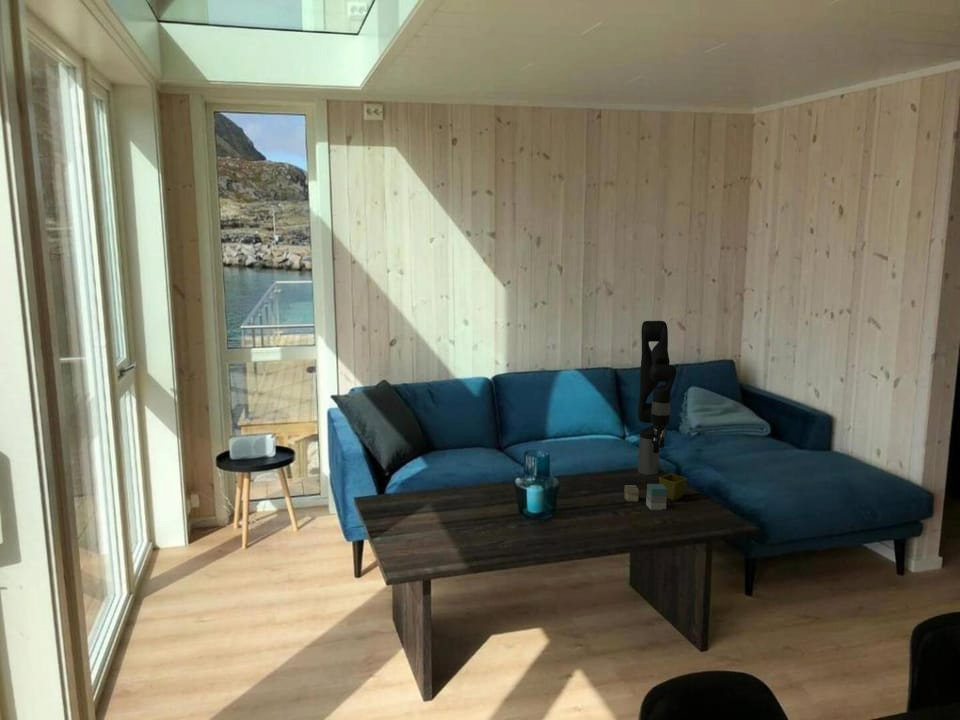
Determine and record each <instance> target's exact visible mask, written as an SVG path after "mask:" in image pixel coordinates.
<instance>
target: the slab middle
mask: <svg viewBox="0 0 960 720" xmlns="http://www.w3.org/2000/svg"><path fill="white" fill-rule="evenodd" d="M646 498H647V499H648V500H649V501H650V503H666V504H667V499H668V498H667V496H651V495H650V494H649V493H648V492H647V491H646Z"/></svg>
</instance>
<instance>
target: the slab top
mask: <svg viewBox="0 0 960 720" xmlns="http://www.w3.org/2000/svg"><path fill="white" fill-rule="evenodd" d="M647 492H648V493H649V494H650V495H651V496H667V488H666V487H665V486H664V485H663V484H660V483H647V485H646V493H647Z"/></svg>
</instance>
